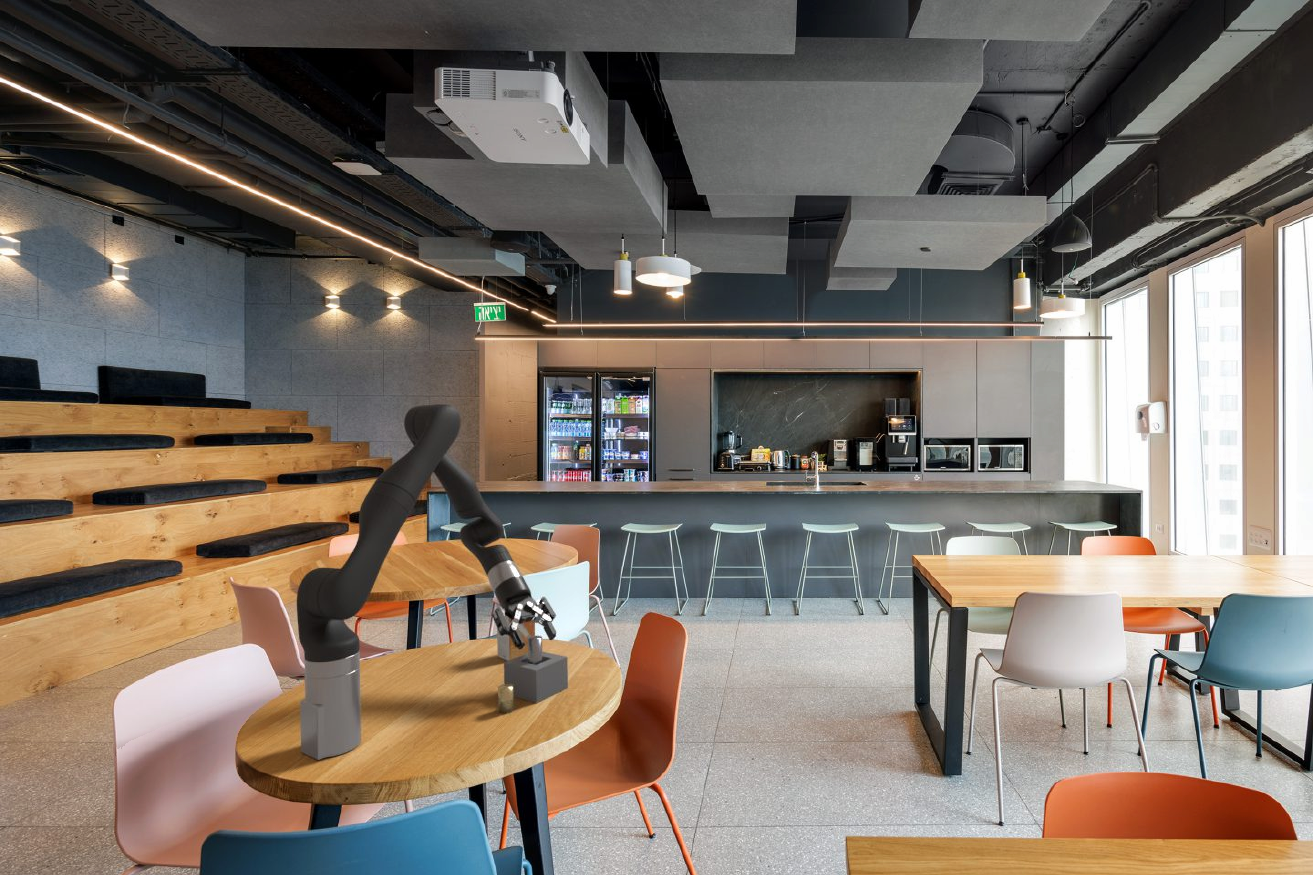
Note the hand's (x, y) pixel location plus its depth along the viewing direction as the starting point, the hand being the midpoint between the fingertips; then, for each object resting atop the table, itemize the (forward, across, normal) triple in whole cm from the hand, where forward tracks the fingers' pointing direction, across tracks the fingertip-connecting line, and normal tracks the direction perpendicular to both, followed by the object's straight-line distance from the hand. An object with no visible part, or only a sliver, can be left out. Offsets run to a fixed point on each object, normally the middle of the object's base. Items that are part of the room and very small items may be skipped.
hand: (538, 642), depth 142 cm
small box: (-10, +11, +26) cm, 30 cm away
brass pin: (+10, -10, +6) cm, 16 cm away
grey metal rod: (+7, 0, +9) cm, 11 cm away
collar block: (+7, 0, +9) cm, 11 cm away
